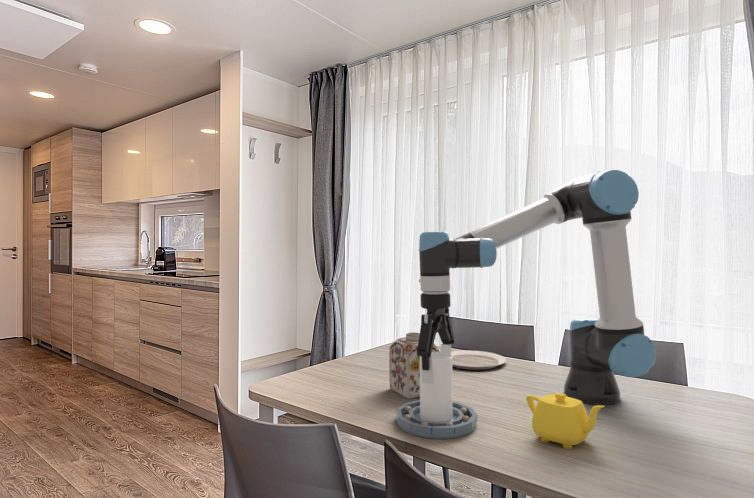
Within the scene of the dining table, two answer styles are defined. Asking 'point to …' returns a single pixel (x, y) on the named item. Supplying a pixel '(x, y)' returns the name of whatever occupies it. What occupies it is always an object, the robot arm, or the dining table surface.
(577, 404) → the teapot
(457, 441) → the dining table surface
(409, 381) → the decorative jar
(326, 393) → the dining table surface
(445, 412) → the cup
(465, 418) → the beads
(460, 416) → the tray
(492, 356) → the plate
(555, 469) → the dining table surface
